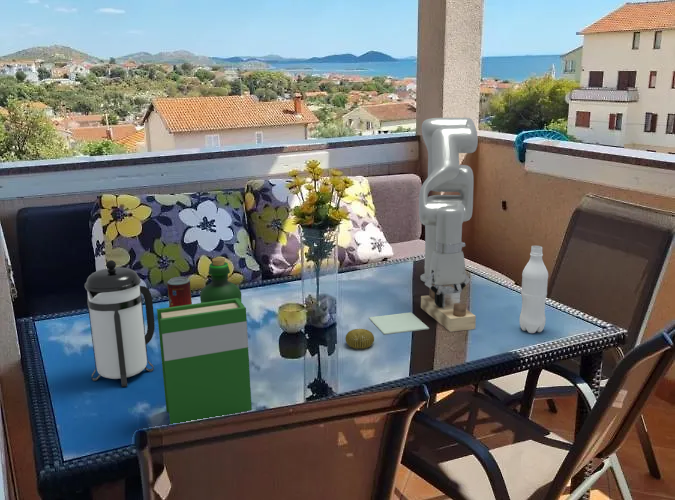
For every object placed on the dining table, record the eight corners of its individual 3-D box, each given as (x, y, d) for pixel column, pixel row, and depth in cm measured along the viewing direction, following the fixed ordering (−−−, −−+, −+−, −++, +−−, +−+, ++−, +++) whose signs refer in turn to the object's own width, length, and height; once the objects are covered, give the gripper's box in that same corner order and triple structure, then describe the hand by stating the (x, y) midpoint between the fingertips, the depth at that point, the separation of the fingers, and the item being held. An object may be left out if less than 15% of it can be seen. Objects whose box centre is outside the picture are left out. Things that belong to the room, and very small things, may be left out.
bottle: (226, 374, 157) (219, 266, 150) (195, 365, 162) (187, 261, 155) (254, 358, 166) (248, 256, 159) (223, 350, 171) (217, 252, 164)
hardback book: (170, 426, 133) (160, 320, 127) (166, 410, 139) (156, 309, 133) (251, 409, 139) (245, 308, 133) (243, 395, 145) (238, 297, 140)
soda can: (168, 313, 201) (165, 277, 198) (190, 310, 203) (188, 274, 200) (171, 321, 194) (168, 283, 191) (194, 317, 197) (191, 280, 194)
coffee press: (158, 383, 153) (147, 265, 145) (89, 392, 148) (73, 271, 141) (157, 355, 169) (147, 248, 161) (94, 363, 164) (81, 253, 157)
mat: (368, 318, 193) (368, 317, 193) (411, 313, 197) (411, 312, 197) (384, 334, 180) (384, 333, 180) (428, 329, 184) (428, 327, 184)
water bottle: (547, 334, 178) (553, 249, 172) (522, 334, 178) (527, 250, 172) (540, 325, 185) (545, 243, 179) (516, 325, 185) (520, 244, 179)
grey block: (434, 302, 194) (435, 287, 193) (449, 301, 196) (450, 286, 194) (444, 310, 188) (444, 294, 186) (459, 308, 189) (460, 292, 188)
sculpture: (341, 329, 175) (367, 325, 177) (341, 342, 176) (367, 338, 178) (351, 339, 167) (378, 334, 170) (351, 353, 168) (378, 348, 171)
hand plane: (420, 307, 202) (421, 284, 200) (443, 305, 204) (444, 281, 202) (450, 331, 181) (451, 305, 179) (475, 328, 183) (476, 303, 181)
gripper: (468, 242, 193) (466, 298, 197) (417, 246, 188) (416, 303, 193) (480, 248, 186) (478, 305, 190) (427, 252, 181) (426, 311, 186)
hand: (447, 304), depth 192 cm, fingers closed on grey block, 5 cm apart
